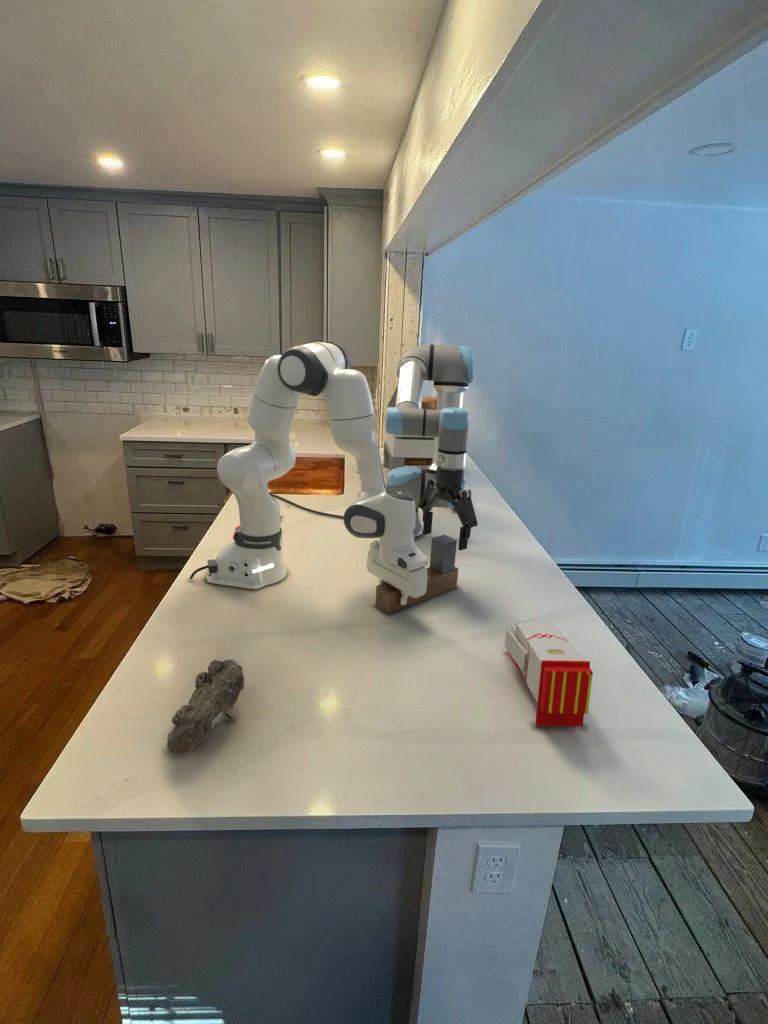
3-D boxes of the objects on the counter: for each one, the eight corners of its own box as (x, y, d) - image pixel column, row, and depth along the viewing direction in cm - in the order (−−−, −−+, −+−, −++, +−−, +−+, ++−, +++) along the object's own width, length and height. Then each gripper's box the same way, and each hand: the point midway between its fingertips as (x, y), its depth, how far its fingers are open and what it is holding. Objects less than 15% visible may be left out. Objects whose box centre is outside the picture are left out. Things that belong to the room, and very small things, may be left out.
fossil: (192, 660, 117) (244, 628, 112) (224, 691, 120) (276, 661, 115) (142, 746, 98) (202, 712, 93) (182, 779, 101) (242, 748, 96)
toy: (550, 607, 134) (601, 667, 105) (545, 659, 137) (594, 732, 108) (499, 606, 134) (537, 666, 104) (495, 659, 137) (530, 731, 107)
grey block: (429, 567, 161) (431, 538, 158) (441, 563, 164) (444, 534, 161) (442, 573, 157) (444, 544, 154) (454, 569, 161) (457, 539, 157)
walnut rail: (375, 605, 151) (376, 585, 149) (442, 580, 167) (444, 561, 165) (388, 614, 147) (389, 593, 145) (456, 587, 163) (458, 568, 161)
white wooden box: (382, 463, 289) (386, 382, 275) (445, 464, 293) (451, 384, 279) (390, 482, 257) (394, 392, 243) (460, 483, 261) (468, 394, 247)
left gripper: (361, 540, 151) (360, 587, 156) (414, 567, 137) (411, 618, 142) (379, 535, 155) (377, 581, 160) (432, 561, 141) (428, 610, 146)
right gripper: (408, 459, 157) (404, 530, 164) (477, 480, 139) (469, 559, 146) (427, 455, 162) (422, 525, 169) (496, 476, 144) (487, 552, 151)
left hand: (393, 598), depth 151 cm, fingers closed on walnut rail, 5 cm apart
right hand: (444, 541), depth 158 cm, fingers open, 13 cm apart
